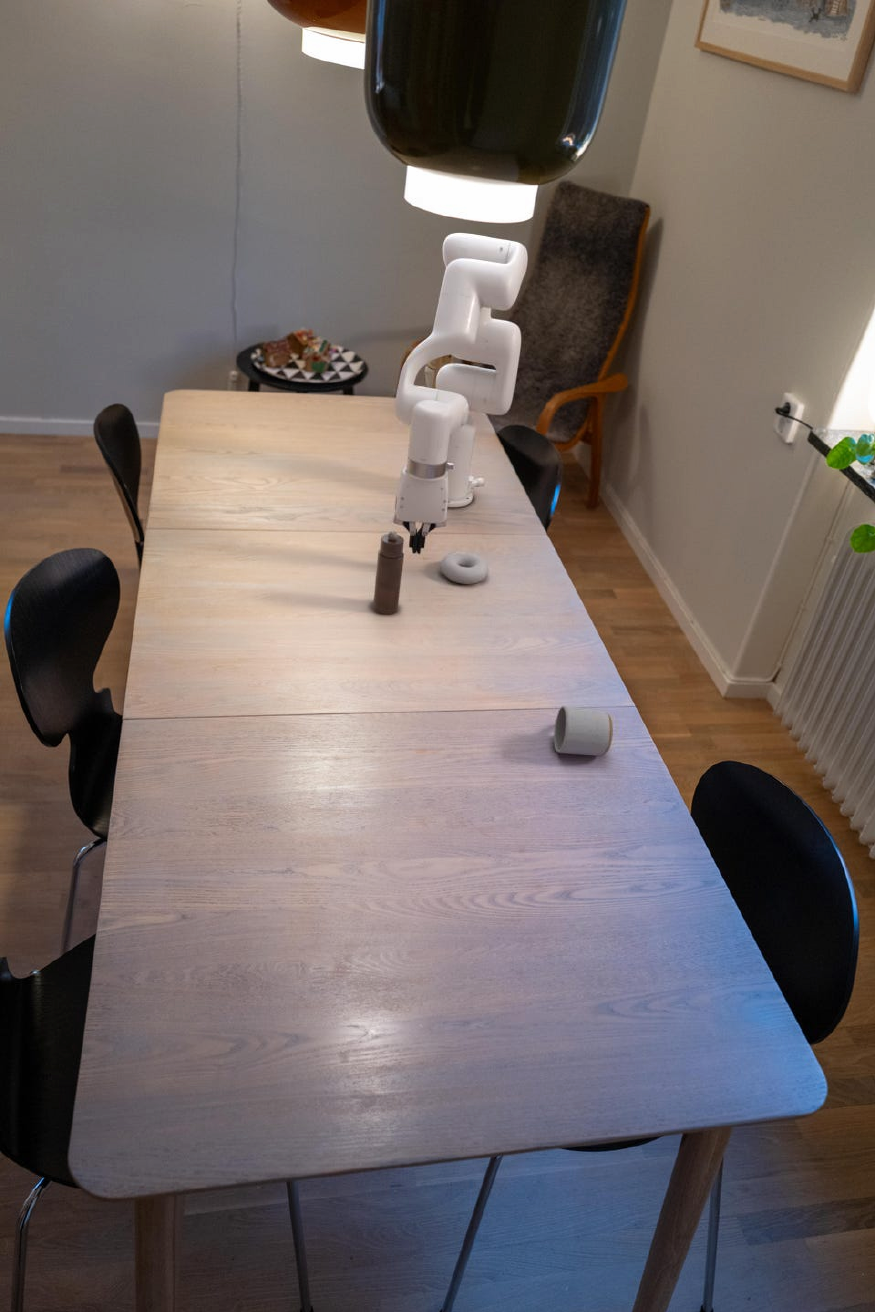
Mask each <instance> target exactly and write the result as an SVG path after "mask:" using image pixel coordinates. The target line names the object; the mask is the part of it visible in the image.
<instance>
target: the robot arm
mask: <svg viewBox="0 0 875 1312" xmlns="http://www.w3.org/2000/svg"><path fill="white" fill-rule="evenodd" d="M442 258H443V264H444V266H445V271H444V275H443V279H442V285H441V289H440V293H439V297H438V303H437V308H436V312H435V318H434V321H433V328H432V332H431V334H430V335H429V336H428V337H426V339H425V340H423V341H422V342H420V343H419V344H418V345H417V346H416V347H414V348H413V350H412V351H411V352H410V354H409V355H408V356H407V358H406V360H405V361H404V363H403V366H402V368H401V371H400V376H399V380H398V385H397V390H396V395H395V399H394V414H395V418H396V419H397V420H398V421H399V422H401V423H402V424H406V425H409V426H410V431H409V440H408V442H409V443H408V450H407V459H406V466H404V467H402V469H401V472H400V475H399V478H398V483H397V488H396V493H395V501H394V502H395V503H394V512H393V513H394V514H393V517H392V523H393V524H395V525H398V526H403V527H404V528H405V530H406V531H407V532H408V533H409V541H408V548H410V549H411V553H412V554H414V555H415V554H418V555H421V553H422V549H425V543H426V537H427V536H428V535H429V533H431V532H432V531H433V530H435V529H439V528H445V527H446V526H447V515H448V514H447V513H448V508H461V507H465V506H468V505H469V504H470V503H472V501H473V499H474V494H473V492H472V490H473V489H474V488H478V487H483V486H484V485H485V480H484V478H483V477H480V478H475V479H474V476H473V475H470V472H471V469H472V468H471V467H472V459H473V453H474V447H475V440H476V432H477V431H476V429H477V428H476V423H475V420H474V418H473V416H472V414H471V413H470V412H476V413H477V412H478V413H481V414H486V415H487V414H488V415H493V416H503V415H505V414H507V413H508V412H509V411H510V409H511V406H512V404H513V400H514V399H513V398H514V393H515V388H516V382H517V381H516V380H517V375H518V374H517V373H518V368H519V361H520V355H521V347H522V333H521V329H520V327H519V325H517V324H516V323H514V322H512V321H509V320H504V319H498V318H493V317H492V316H491V314H492V310H498V311H509V310H510V309H511V308H512V307H513V306H514V304H515V302H516V299H517V297H518V296H519V292H520V290H521V286H522V284H523V280H524V278H525V275H526V272H527V267H528V251H527V248H526V246H525V245H524V244H522V243H521V242H518V241H514V240H507V239H502V238H496V237H490V236H486V235H481V234H473V233H465V232H455V233H451V234H449V235H447V236H446V237H445V239H444V241H443V243H442ZM449 354H451V355H452V356H454V358H456V359H459V360H463V361H467V362H473V363H478V364H479V363H480V364H484V365H490V366H493V367H494V368H495V369H490V368H485V367H480V366H475V365H469V364H465V363H454V364H447V365H445V366H443V367H442V368H441V369H440V370H439V372H438V374H437V377H436V389H433V388H427V386H422V385H415V381H416V377H417V375H418V374H419V372H420V370H421V369H422V368H423V367H424V366H426V365H427V363H428V362H430V361H432V360H434V359H436V358H439V357H442V356H446V355H449ZM416 523H421V525H420V528H419V529H418V528H417V526H416V525H417V524H416Z"/></svg>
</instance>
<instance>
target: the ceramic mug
mask: <svg viewBox="0 0 875 1312" xmlns="http://www.w3.org/2000/svg"><path fill="white" fill-rule="evenodd" d="M553 736H554V737H553V740H554V748H555V751H556V752H557V753H558V754H568V755H584V756H595V757H597V756H604V755H605V754H607V753H608V752H609V750H610V748H611V745H612V742H613V736H614V724H613V720H612V717H611V715H610V714H609V713H608V712H604V711H601V710H596V709H588V708H583V707H576V706H569V705H562V706H560V707H559V709H558V711H557V714H556V719H555V723H554V735H553Z"/></svg>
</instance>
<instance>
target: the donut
mask: <svg viewBox="0 0 875 1312" xmlns="http://www.w3.org/2000/svg"><path fill="white" fill-rule="evenodd" d="M440 571H441V573H442V575H443V576H444V577H445V578H447V579H448V580H450V581H453V582H454V583H458V584H465V585H471V584H472V585H473V584H477V583H480V582H482V581H484V580H485V579H486V578H487V576H488V573H489V565H488V562H486V560H485V559H484V558H482V557H481V556H480V555H477V554H475V553H472V552H467V551H455V552H451V553H448V554H447V555H445V556H444V557H443V558H442V560H441V562H440Z"/></svg>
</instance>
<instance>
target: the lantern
mask: <svg viewBox="0 0 875 1312" xmlns="http://www.w3.org/2000/svg"><path fill="white" fill-rule="evenodd" d="M454 358H455V357H454V356H452V355H451V354H449V355H446V356H442V357H439V358H436V359H434V360H432V361H430V362H428V363H427V364H426V365H425V368H424V373H423V381H425V384H426V385H425V386H426V387H427V388H433V389H436V377H437V374H438V372H439V370H440V369H441V368H442V367H443V366H445V365H447V364H455V362H454Z"/></svg>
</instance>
